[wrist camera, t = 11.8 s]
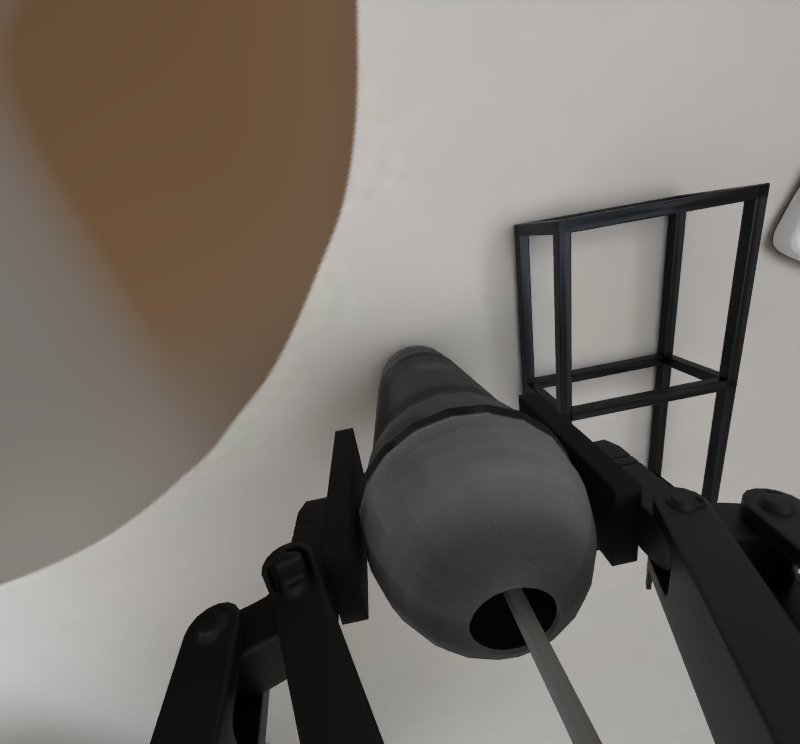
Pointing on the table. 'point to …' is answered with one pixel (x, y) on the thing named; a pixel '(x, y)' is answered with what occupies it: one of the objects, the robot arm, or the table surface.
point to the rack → (665, 359)
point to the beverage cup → (476, 522)
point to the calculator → (789, 230)
